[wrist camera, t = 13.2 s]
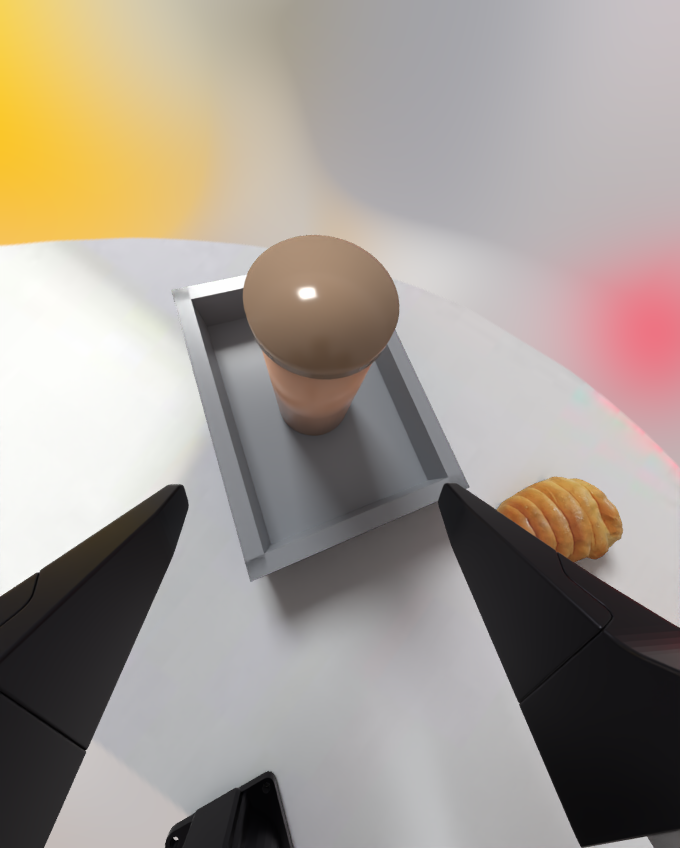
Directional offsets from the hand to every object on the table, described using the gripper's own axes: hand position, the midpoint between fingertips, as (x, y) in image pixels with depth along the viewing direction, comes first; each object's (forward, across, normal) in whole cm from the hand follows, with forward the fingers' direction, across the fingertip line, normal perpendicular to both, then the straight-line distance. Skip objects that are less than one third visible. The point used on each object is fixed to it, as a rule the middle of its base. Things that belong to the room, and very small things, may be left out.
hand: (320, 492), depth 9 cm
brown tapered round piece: (+14, 0, +3) cm, 15 cm away
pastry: (+8, -21, +12) cm, 25 cm away
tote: (+15, 0, +4) cm, 16 cm away
